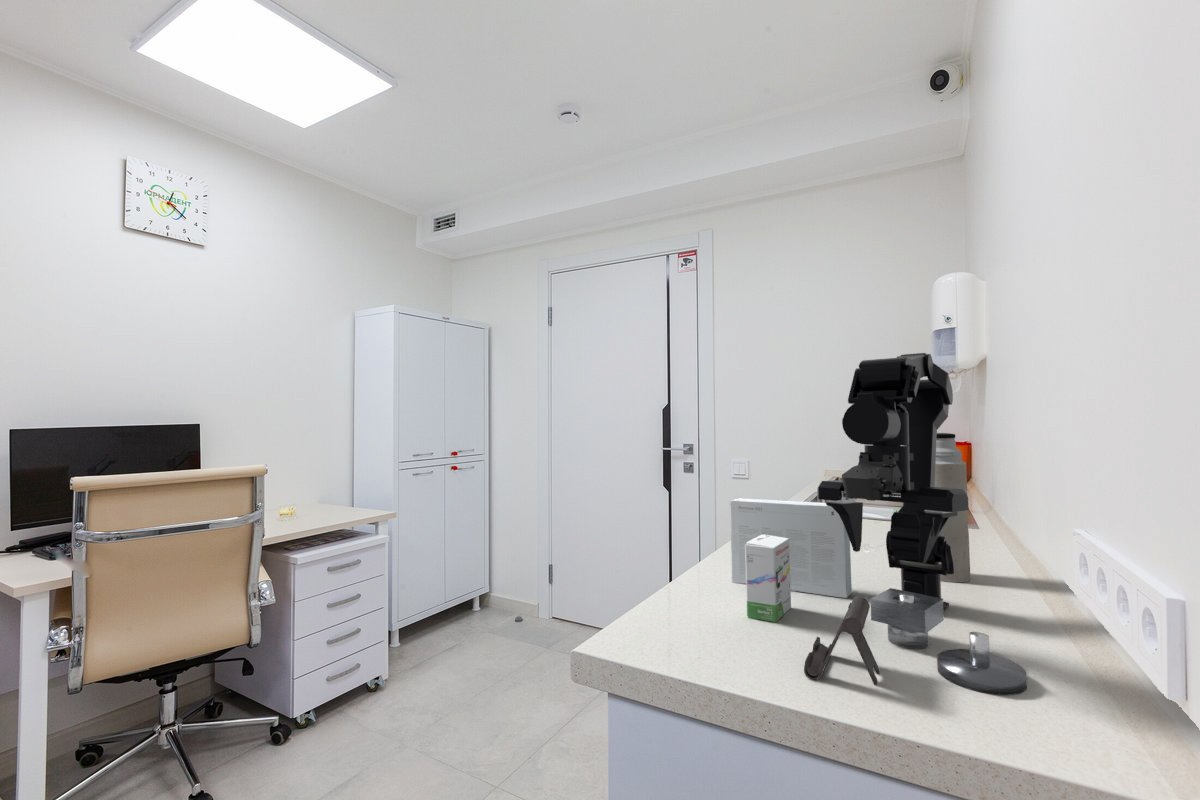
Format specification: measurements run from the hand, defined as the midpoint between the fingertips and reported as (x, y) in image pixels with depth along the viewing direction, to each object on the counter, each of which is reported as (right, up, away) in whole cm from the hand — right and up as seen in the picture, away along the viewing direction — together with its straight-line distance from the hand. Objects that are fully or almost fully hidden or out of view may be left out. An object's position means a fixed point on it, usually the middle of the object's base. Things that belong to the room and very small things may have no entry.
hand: (888, 556), depth 80 cm
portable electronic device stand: (-10, -12, -9) cm, 18 cm away
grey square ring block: (+3, -9, 0) cm, 9 cm away
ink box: (-13, -13, +13) cm, 22 cm away
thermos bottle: (+27, -13, +31) cm, 43 cm away
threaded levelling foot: (+3, -12, 0) cm, 12 cm away
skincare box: (-5, -13, +26) cm, 30 cm away
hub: (+6, -12, -11) cm, 17 cm away
